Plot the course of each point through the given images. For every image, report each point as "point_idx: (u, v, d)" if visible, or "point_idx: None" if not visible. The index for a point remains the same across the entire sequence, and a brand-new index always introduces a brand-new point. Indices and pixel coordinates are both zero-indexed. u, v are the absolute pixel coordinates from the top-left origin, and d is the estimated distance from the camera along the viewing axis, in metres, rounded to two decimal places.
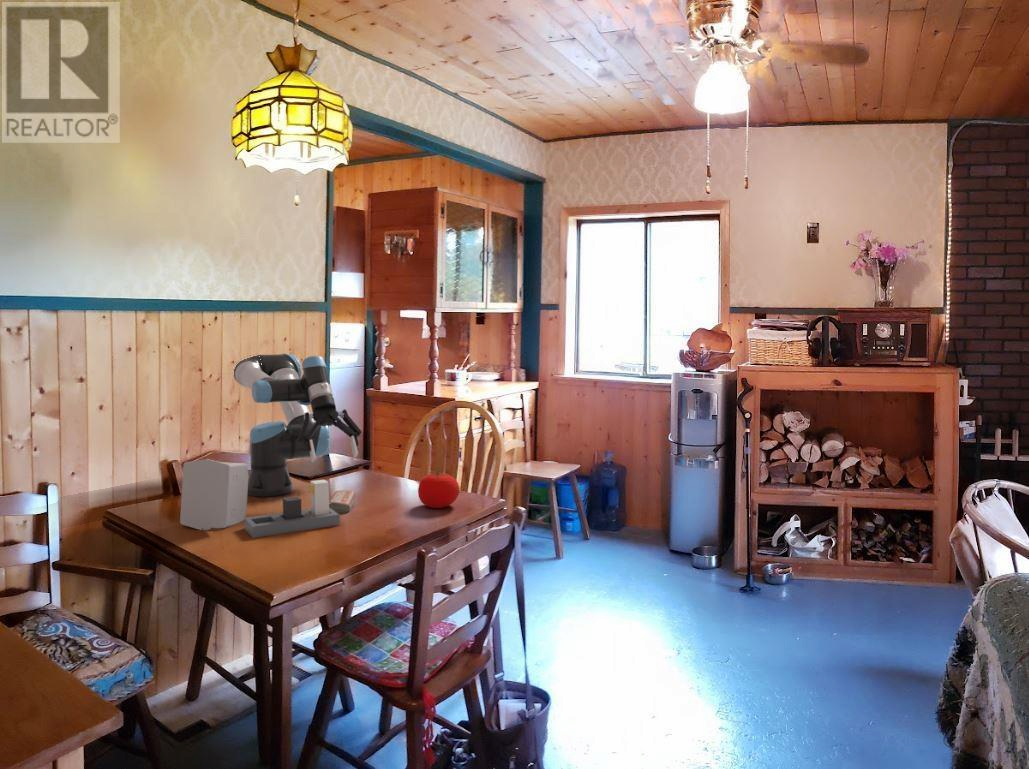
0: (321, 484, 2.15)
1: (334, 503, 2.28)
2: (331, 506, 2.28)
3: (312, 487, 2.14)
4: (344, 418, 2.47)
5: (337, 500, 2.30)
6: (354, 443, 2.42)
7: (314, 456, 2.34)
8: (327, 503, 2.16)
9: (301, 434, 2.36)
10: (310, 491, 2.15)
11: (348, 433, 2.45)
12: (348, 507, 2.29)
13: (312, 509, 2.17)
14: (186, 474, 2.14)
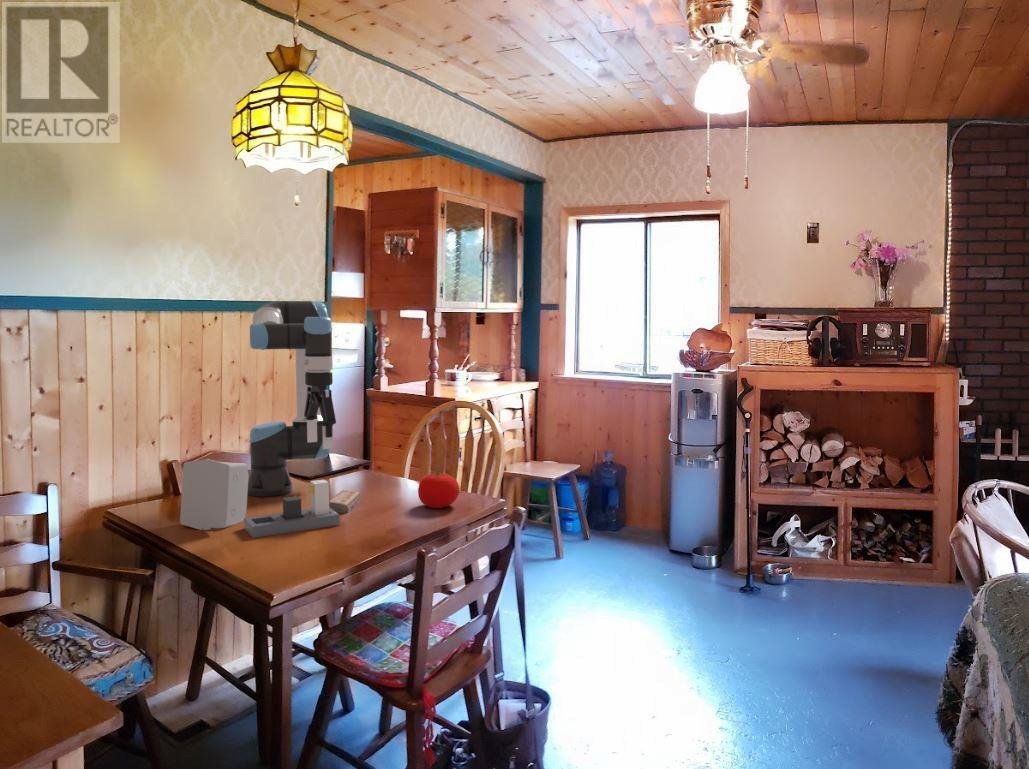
0: (321, 484, 2.15)
1: (332, 503, 2.28)
2: (329, 506, 2.28)
3: (312, 487, 2.14)
4: None
5: (337, 500, 2.30)
6: (323, 435, 2.09)
7: (307, 440, 2.21)
8: (327, 503, 2.16)
9: (304, 412, 2.22)
10: (310, 491, 2.15)
11: None
12: (346, 507, 2.28)
13: (312, 509, 2.17)
14: (186, 474, 2.14)
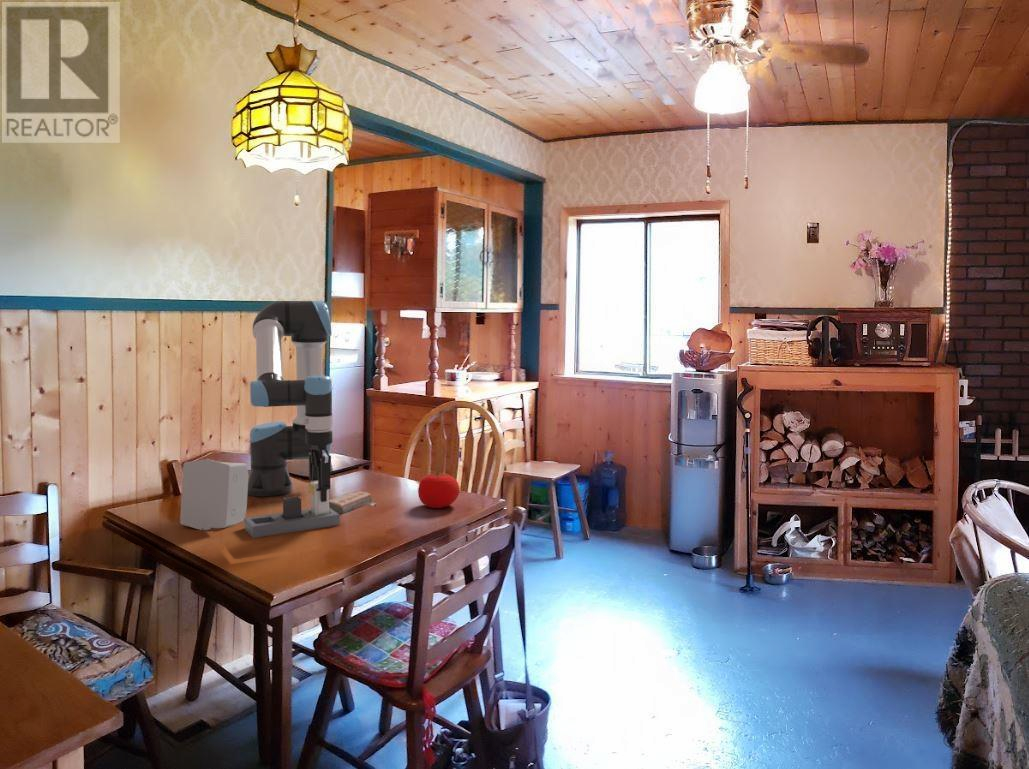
0: None
1: (329, 503, 2.28)
2: None
3: (312, 487, 2.14)
4: None
5: (336, 500, 2.31)
6: (317, 499, 2.14)
7: None
8: None
9: (309, 477, 2.20)
10: (310, 491, 2.15)
11: None
12: (341, 508, 2.27)
13: (312, 509, 2.17)
14: (186, 474, 2.14)
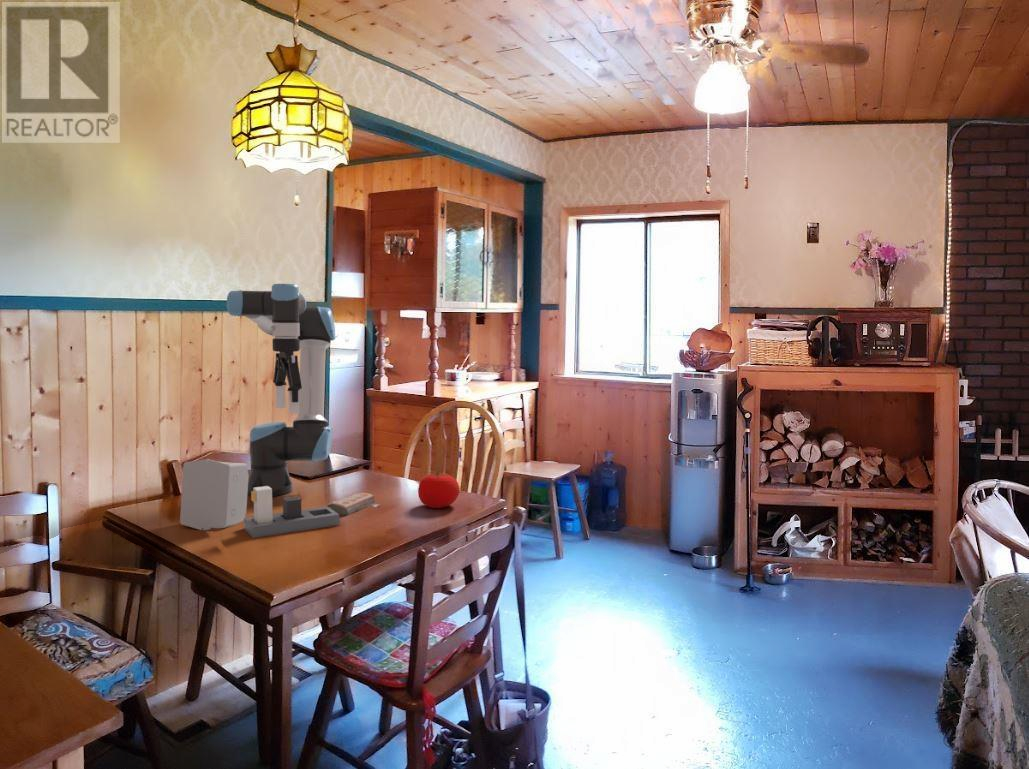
0: (264, 491, 2.06)
1: (333, 504, 2.27)
2: (330, 507, 2.27)
3: (254, 494, 2.06)
4: None
5: (340, 502, 2.29)
6: (289, 400, 2.13)
7: (276, 405, 2.25)
8: (270, 510, 2.08)
9: None
10: (252, 498, 2.07)
11: None
12: (345, 510, 2.25)
13: (255, 517, 2.08)
14: (186, 474, 2.14)
